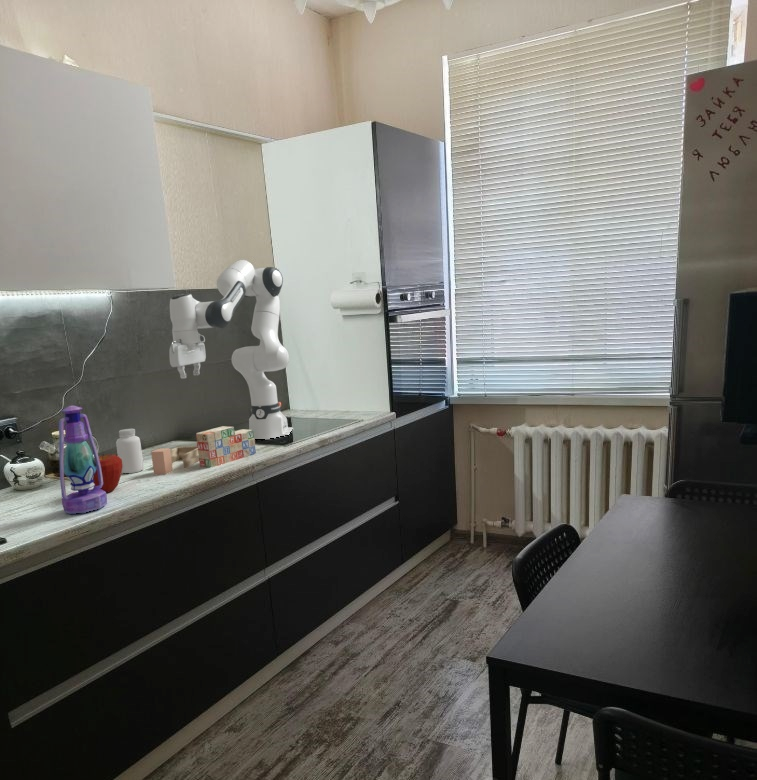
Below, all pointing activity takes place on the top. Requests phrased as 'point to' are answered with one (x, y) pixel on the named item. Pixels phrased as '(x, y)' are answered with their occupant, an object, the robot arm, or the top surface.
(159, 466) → the terracotta block
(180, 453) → the oak u-shaped frame
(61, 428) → the lantern
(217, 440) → the stack of blocks
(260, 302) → the robot arm
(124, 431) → the pill bottle
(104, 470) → the apple
